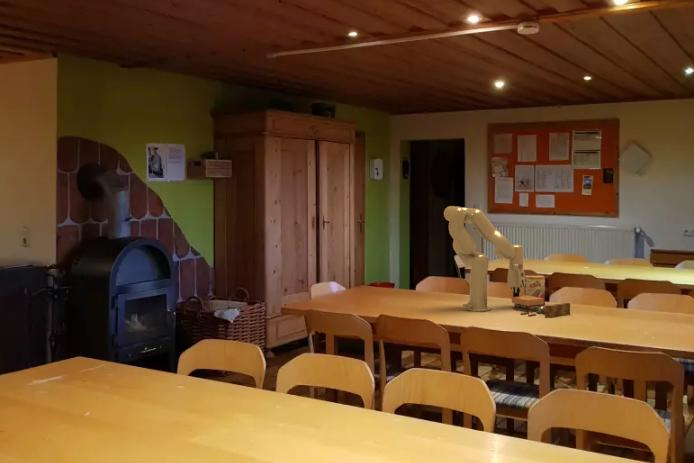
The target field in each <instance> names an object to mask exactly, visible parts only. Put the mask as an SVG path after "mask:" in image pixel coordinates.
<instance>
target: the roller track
mask: <svg viewBox="0 0 694 463" xmlns="http://www.w3.org/2000/svg"><path fill="white" fill-rule="evenodd" d="M513 305H514V306H512V307H511V308H512V309H513V310H517V311H522V312H525V313H526V312H529V313H530V314H534V312H535V314H537V312H536V308H538V307H542V305H532V306H526V305H521V304H516V303H513ZM542 314H543V315H544V316H545V308H544V309H543V313H542Z"/></svg>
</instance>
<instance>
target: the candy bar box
mask: <svg viewBox="0 0 694 463" xmlns="http://www.w3.org/2000/svg"><path fill="white" fill-rule="evenodd" d="M525 283H526V285H525V287H523V288H524V290H523V291H524V293H523V296H526V295H527V296H533V297H538V298H544V304H540V305H541V306H546V276H545V275H525Z"/></svg>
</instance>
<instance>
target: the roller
mask: <svg viewBox="0 0 694 463" xmlns="http://www.w3.org/2000/svg"><path fill="white" fill-rule="evenodd" d="M544 308H545V306H541V307H538V308H536V311H535V313H536V312H537V313H536V315H541V313H542V314H543V309H544Z"/></svg>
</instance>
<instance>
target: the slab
mask: <svg viewBox="0 0 694 463" xmlns="http://www.w3.org/2000/svg"><path fill="white" fill-rule="evenodd" d="M511 303H512V304H515V303H516V304H521V305H526V306H532V305H540V304H544V298H538V297H533V296H527V295H526V296H524V295H519V296H518V297H513V296H512V297H511Z"/></svg>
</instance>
